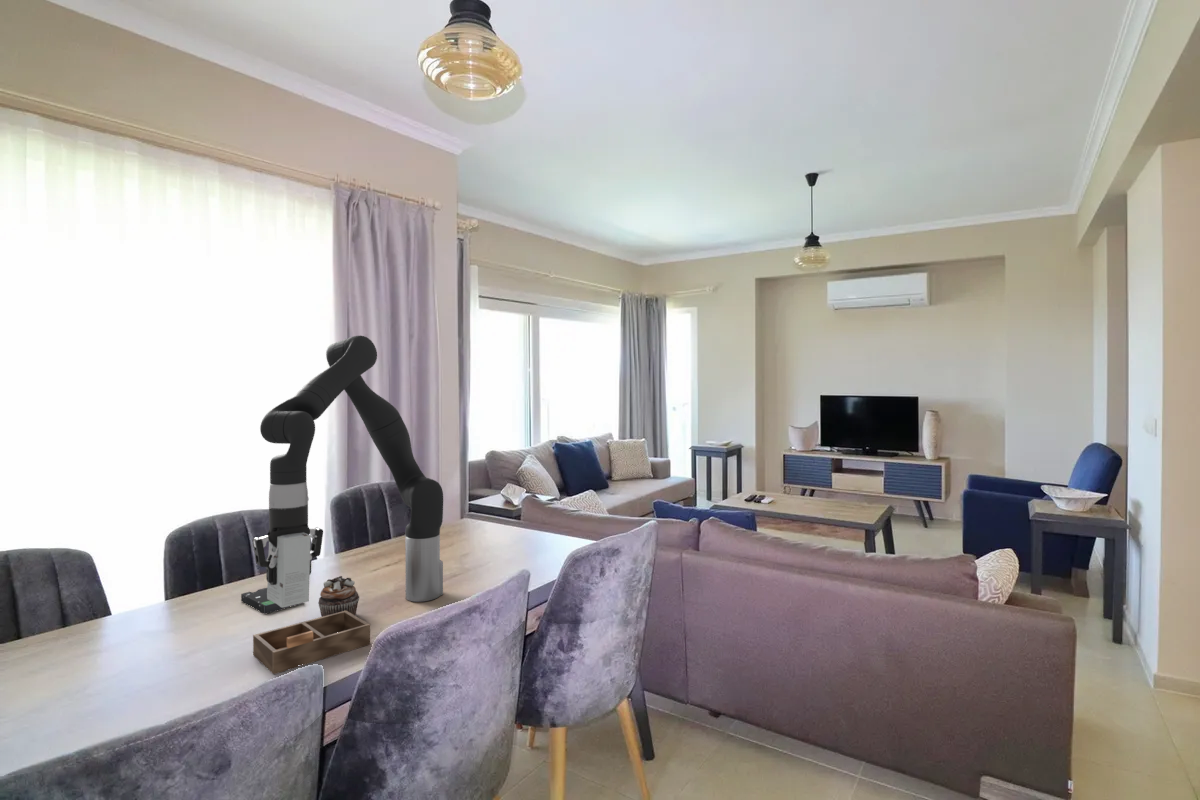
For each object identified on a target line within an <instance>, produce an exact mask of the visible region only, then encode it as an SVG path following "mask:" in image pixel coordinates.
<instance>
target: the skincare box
mask: <svg viewBox="0 0 1200 800" xmlns="http://www.w3.org/2000/svg"><path fill="white" fill-rule="evenodd" d="M311 544H312V538H311V536H310V534H309V535H308V534H306V533H304V532H303V533H294V534H287V535H282V536H278V537H277V548H278V558H277V563H276V565H275V567H276V585H271V584H270V583H269V582H267V587H266V588H267V599H268V600H270V601H272V602H274V603H276V604H277V605H279V606H280V607H281V608H284V607H288V606H292V605H296V604H300V605H302V604H301V603H303V604H305V603H308V602H310V575H311V574H310V551H311ZM272 547H273V551H274V552H275V551H276V550H277V548H276V547H274V546H273V545H272V544H271V543H270V542H269V541H268V556H269V552H270V550H271V548H272ZM268 556H267V557H268ZM296 606H297V605H296Z"/></svg>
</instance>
